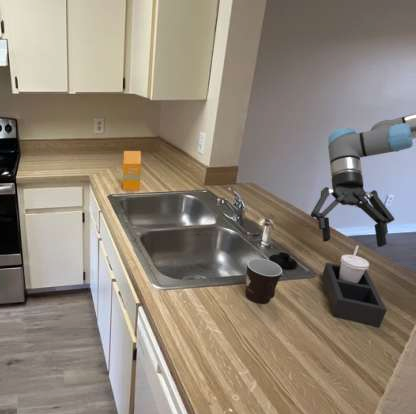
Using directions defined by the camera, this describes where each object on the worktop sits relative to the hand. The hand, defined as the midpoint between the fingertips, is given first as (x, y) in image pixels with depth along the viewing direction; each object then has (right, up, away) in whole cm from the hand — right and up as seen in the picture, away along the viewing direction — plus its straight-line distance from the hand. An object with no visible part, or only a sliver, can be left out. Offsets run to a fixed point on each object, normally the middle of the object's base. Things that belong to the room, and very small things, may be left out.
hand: (353, 242), depth 93 cm
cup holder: (-3, -16, -1) cm, 16 cm away
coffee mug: (-28, -16, -1) cm, 32 cm away
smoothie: (-1, -14, +2) cm, 14 cm away
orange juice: (-54, +20, +84) cm, 102 cm away
